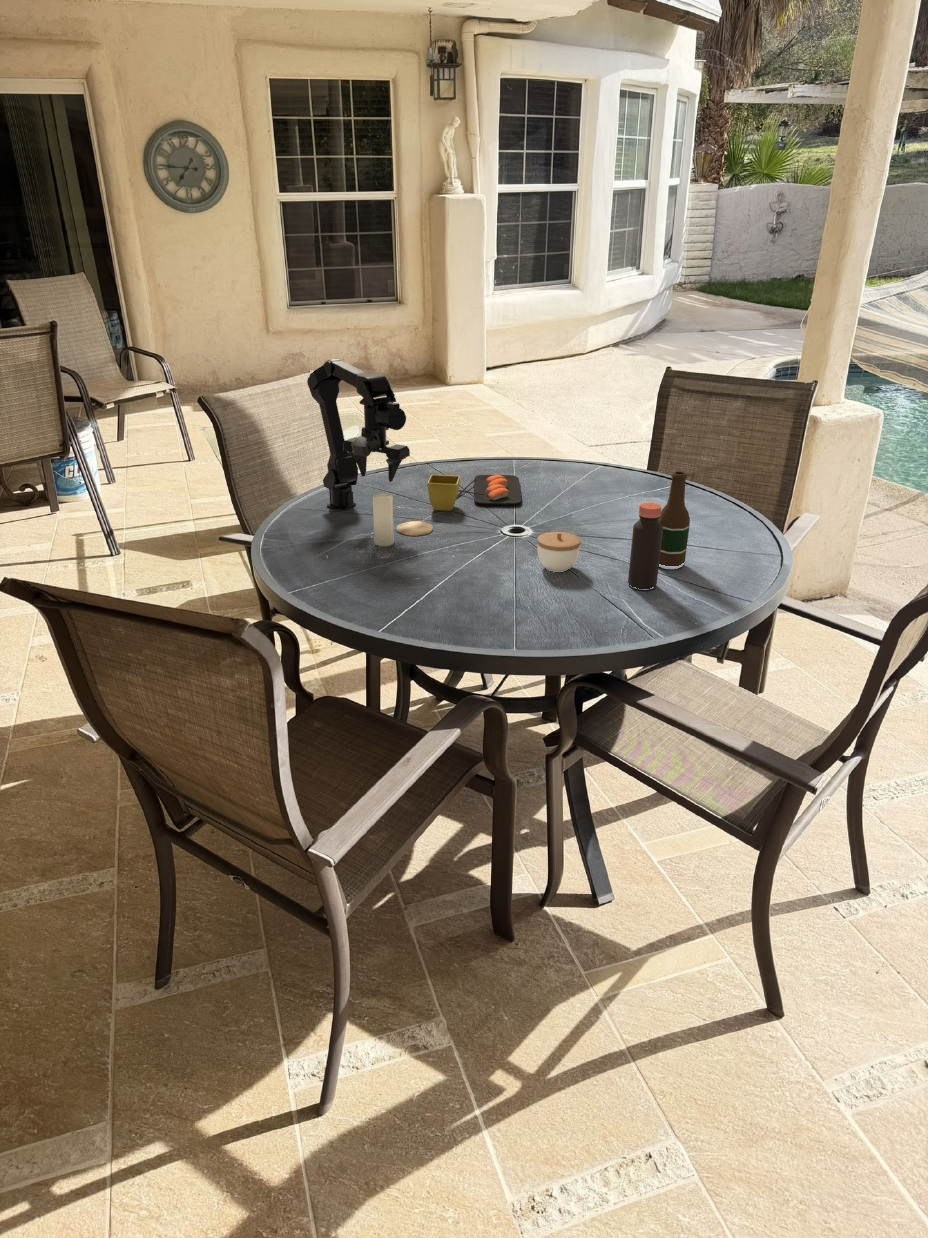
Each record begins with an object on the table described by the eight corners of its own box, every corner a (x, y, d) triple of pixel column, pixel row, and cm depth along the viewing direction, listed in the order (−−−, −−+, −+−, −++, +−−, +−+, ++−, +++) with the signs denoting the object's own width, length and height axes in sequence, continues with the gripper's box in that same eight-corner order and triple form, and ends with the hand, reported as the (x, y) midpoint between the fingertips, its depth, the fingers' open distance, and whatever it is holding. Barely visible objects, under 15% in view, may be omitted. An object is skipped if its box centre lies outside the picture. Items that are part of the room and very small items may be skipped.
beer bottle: (685, 561, 221) (697, 470, 211) (682, 572, 215) (694, 478, 204) (655, 557, 224) (665, 466, 213) (650, 568, 217) (661, 475, 206)
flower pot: (460, 504, 261) (460, 475, 257) (457, 513, 254) (457, 484, 250) (431, 503, 262) (431, 474, 258) (427, 512, 254) (427, 483, 250)
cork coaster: (389, 531, 240) (389, 529, 239) (410, 521, 247) (410, 519, 247) (419, 538, 235) (419, 536, 235) (439, 527, 243) (439, 525, 242)
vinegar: (650, 593, 203) (659, 512, 194) (623, 587, 206) (630, 507, 198) (660, 583, 208) (669, 504, 199) (634, 577, 211) (641, 499, 203)
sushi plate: (521, 509, 259) (522, 496, 258) (422, 507, 260) (421, 495, 258) (518, 480, 286) (518, 469, 284) (427, 479, 286) (427, 468, 284)
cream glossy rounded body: (370, 543, 231) (368, 497, 225) (382, 538, 235) (380, 492, 229) (386, 547, 229) (384, 500, 223) (397, 541, 233) (396, 495, 227)
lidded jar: (550, 579, 210) (552, 543, 206) (527, 564, 219) (529, 529, 215) (587, 571, 215) (589, 536, 211) (563, 557, 223) (565, 523, 219)
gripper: (329, 424, 231) (332, 480, 238) (386, 433, 223) (388, 491, 230) (354, 416, 240) (356, 471, 247) (410, 425, 232) (411, 481, 239)
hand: (377, 478), depth 241 cm, fingers open, 9 cm apart
